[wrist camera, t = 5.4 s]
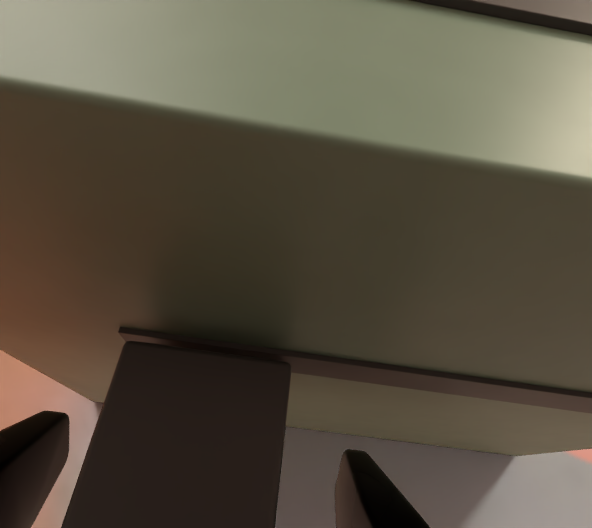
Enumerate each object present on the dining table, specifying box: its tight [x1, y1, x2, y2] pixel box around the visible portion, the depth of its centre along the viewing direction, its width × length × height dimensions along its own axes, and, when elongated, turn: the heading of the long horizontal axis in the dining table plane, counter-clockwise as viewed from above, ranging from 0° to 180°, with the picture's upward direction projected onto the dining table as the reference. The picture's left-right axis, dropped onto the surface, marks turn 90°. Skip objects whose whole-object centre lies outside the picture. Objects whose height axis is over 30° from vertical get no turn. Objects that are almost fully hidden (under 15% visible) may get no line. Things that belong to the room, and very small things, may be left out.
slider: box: [61, 341, 292, 528], centre depth 6 cm, size 4×2×3 cm, turn 174°
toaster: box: [0, 0, 592, 456], centre depth 11 cm, size 10×16×14 cm, turn 84°
